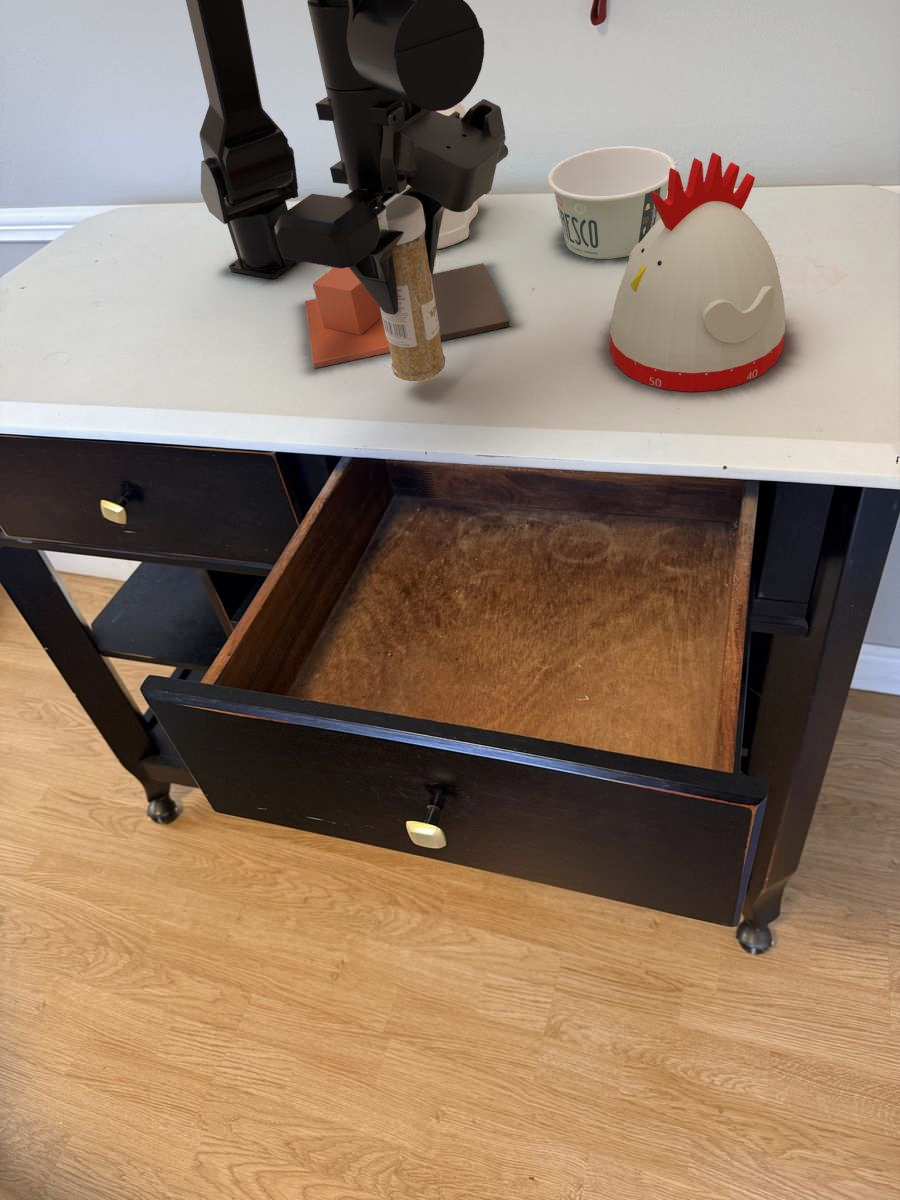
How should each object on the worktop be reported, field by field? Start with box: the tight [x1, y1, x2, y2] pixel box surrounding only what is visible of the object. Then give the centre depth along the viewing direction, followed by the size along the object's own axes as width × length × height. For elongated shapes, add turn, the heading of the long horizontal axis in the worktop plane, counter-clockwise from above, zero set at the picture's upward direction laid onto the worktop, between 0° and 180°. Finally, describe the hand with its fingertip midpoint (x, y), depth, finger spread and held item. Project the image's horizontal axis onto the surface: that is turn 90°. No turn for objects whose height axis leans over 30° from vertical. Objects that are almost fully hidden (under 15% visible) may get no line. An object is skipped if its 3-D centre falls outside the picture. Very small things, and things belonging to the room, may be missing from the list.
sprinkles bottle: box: [380, 195, 446, 383], centre depth 70 cm, size 5×5×13 cm
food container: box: [547, 145, 677, 260], centre depth 88 cm, size 12×12×6 cm
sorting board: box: [304, 262, 511, 369], centre depth 85 cm, size 18×12×1 cm, turn 100°
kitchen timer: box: [609, 151, 786, 393], centre depth 70 cm, size 14×14×15 cm
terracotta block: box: [312, 267, 382, 335], centre depth 83 cm, size 4×4×4 cm
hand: (408, 298), depth 70 cm, fingers closed on sprinkles bottle, 4 cm apart
